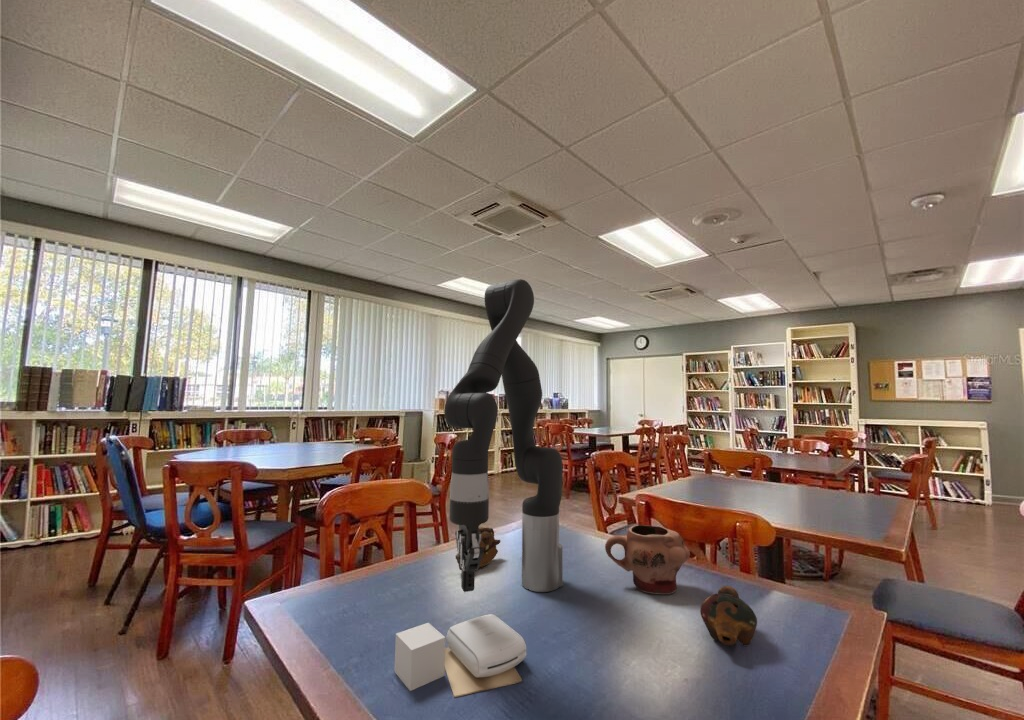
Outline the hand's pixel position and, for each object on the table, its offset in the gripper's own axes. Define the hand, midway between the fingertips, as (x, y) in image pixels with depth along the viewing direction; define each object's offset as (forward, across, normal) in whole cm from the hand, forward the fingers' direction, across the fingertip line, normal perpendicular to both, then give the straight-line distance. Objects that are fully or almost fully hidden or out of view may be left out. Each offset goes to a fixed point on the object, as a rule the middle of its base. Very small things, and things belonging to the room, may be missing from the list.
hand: (467, 589), depth 80 cm
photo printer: (+7, -1, 0) cm, 7 cm away
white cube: (+9, -7, +10) cm, 15 cm away
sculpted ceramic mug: (+9, +8, -47) cm, 49 cm away
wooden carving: (+9, +34, -12) cm, 37 cm away
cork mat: (+9, -8, 0) cm, 12 cm away
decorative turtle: (+9, -16, -47) cm, 51 cm away
